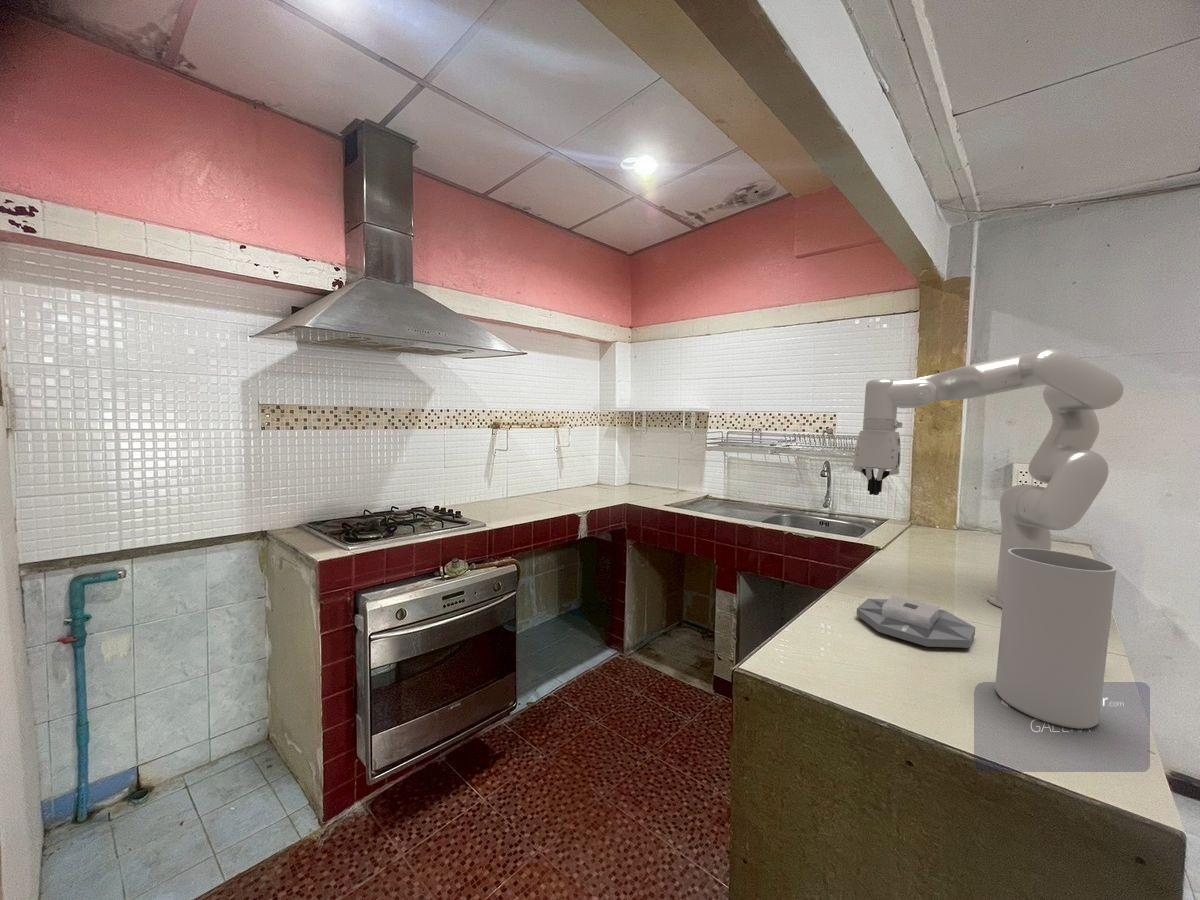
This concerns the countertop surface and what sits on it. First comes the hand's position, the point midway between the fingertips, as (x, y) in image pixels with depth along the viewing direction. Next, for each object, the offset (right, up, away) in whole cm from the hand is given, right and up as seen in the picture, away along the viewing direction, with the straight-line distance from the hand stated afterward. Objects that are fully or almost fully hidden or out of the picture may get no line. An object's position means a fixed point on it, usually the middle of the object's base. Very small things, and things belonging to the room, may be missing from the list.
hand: (874, 494), depth 126 cm
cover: (-4, -26, -20) cm, 33 cm away
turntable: (-3, -29, -20) cm, 35 cm away
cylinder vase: (0, -31, -48) cm, 57 cm away
